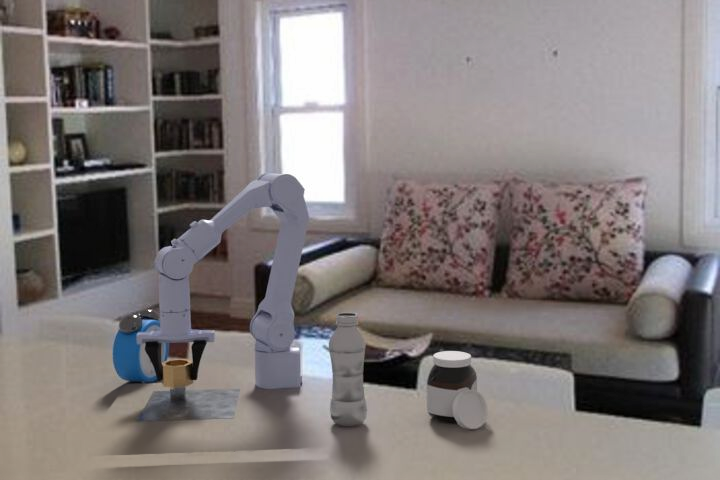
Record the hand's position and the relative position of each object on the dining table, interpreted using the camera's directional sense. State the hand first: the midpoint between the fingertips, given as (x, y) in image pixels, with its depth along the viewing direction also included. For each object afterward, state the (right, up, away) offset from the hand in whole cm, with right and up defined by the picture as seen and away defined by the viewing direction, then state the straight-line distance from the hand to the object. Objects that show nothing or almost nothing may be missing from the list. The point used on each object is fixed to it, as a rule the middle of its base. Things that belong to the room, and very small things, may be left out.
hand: (177, 379), depth 166 cm
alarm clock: (-11, -3, +18) cm, 21 cm away
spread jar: (+53, -6, -10) cm, 54 cm away
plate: (+3, -6, -3) cm, 7 cm away
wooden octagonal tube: (0, -1, 0) cm, 1 cm away
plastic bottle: (+33, -6, -11) cm, 35 cm away
